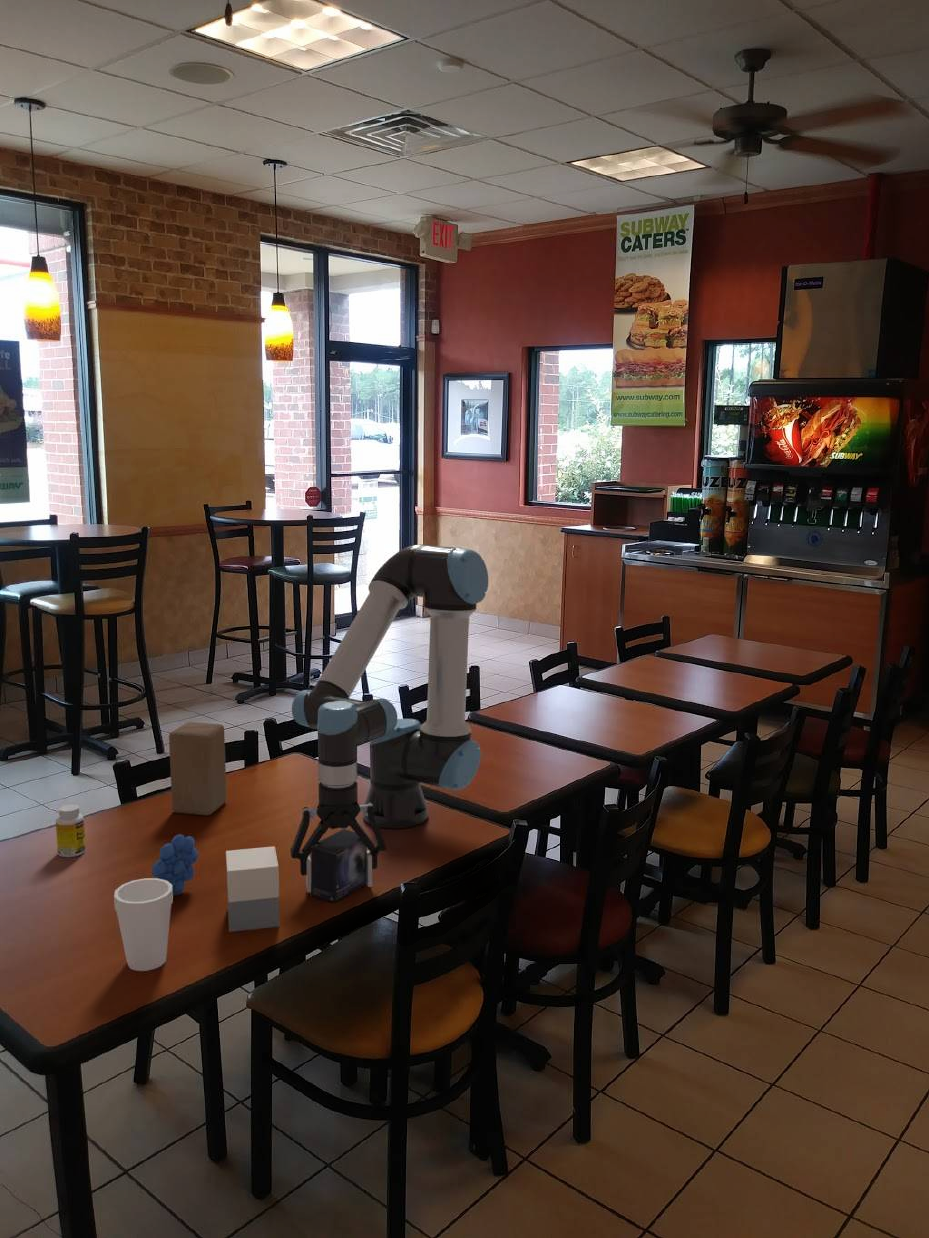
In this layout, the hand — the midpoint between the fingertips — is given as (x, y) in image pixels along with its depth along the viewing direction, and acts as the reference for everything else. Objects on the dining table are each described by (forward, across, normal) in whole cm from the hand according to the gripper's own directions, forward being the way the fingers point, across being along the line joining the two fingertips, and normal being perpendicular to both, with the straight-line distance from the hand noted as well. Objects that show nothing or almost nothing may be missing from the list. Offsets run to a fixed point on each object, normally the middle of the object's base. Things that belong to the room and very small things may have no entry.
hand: (339, 886), depth 196 cm
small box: (+1, 0, 0) cm, 1 cm away
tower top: (-5, +17, +8) cm, 19 cm away
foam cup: (+1, +35, +20) cm, 40 cm away
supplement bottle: (+1, +54, -29) cm, 61 cm away
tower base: (+1, +17, +8) cm, 19 cm away
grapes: (+1, +32, -5) cm, 32 cm away
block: (+1, +28, -50) cm, 57 cm away
